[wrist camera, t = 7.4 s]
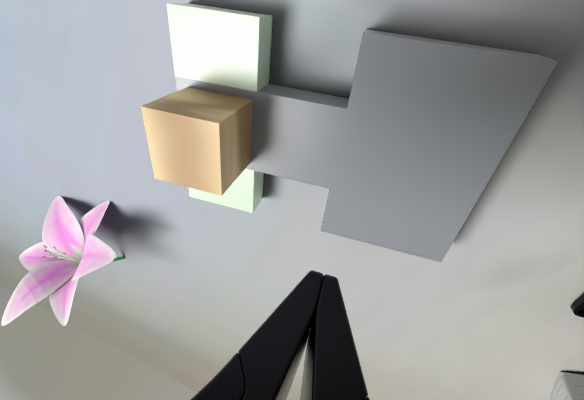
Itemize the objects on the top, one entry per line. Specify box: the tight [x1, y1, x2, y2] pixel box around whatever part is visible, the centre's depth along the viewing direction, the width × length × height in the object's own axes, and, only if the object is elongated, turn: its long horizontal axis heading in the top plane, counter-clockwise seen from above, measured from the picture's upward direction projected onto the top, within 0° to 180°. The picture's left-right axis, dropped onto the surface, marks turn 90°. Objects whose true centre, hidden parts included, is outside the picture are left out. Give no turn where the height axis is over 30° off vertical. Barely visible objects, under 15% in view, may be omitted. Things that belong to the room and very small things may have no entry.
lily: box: [1, 196, 125, 326], centre depth 28 cm, size 12×12×10 cm
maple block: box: [141, 87, 252, 196], centre depth 16 cm, size 4×4×4 cm
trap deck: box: [166, 3, 558, 262], centre depth 18 cm, size 18×12×2 cm, turn 84°
